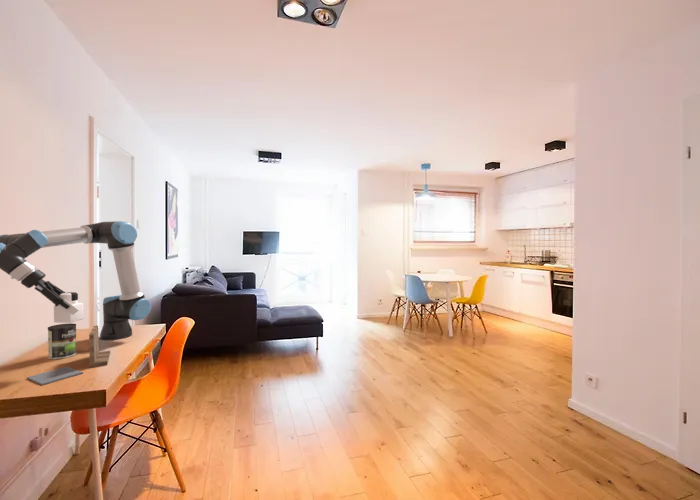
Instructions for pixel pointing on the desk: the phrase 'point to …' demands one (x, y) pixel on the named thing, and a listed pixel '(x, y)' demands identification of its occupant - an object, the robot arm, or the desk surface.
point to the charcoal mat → (54, 375)
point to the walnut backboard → (97, 350)
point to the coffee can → (62, 341)
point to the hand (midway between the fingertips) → (78, 310)
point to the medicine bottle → (64, 315)
